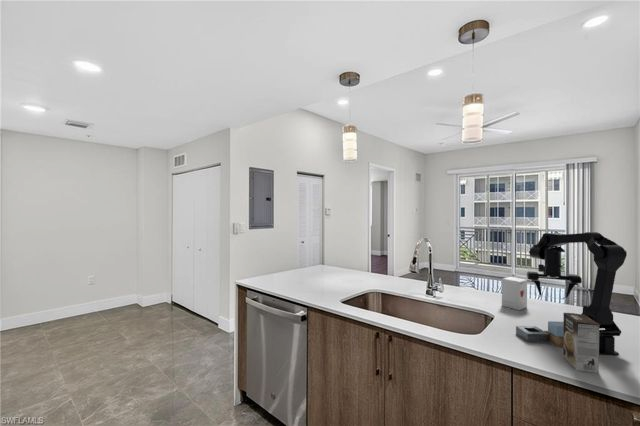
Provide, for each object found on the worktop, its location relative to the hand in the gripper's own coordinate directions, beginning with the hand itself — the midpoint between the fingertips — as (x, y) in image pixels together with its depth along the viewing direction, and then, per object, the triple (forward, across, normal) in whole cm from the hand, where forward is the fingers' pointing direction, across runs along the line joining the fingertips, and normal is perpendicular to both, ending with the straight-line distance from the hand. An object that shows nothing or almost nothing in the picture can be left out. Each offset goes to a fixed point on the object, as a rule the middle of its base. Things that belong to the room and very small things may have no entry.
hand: (553, 296), depth 134 cm
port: (+14, +10, +17) cm, 24 cm away
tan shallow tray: (+14, +1, +18) cm, 23 cm away
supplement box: (+13, +13, -26) cm, 31 cm away
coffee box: (+15, -1, +35) cm, 38 cm away
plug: (+14, +1, +18) cm, 23 cm away
